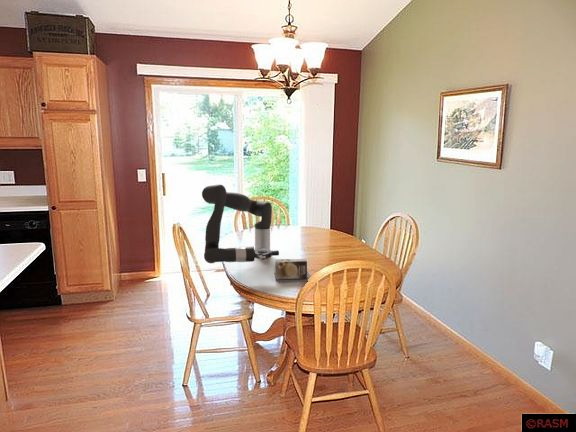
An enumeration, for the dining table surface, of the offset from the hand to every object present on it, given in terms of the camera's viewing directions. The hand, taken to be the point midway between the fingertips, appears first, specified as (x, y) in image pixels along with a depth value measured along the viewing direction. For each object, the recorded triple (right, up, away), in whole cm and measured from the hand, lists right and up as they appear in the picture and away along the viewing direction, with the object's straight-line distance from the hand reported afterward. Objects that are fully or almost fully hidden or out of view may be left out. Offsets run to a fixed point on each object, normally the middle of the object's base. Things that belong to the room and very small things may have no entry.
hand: (278, 252), depth 210 cm
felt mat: (+8, -13, +4) cm, 16 cm away
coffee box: (-2, -8, +1) cm, 9 cm away
